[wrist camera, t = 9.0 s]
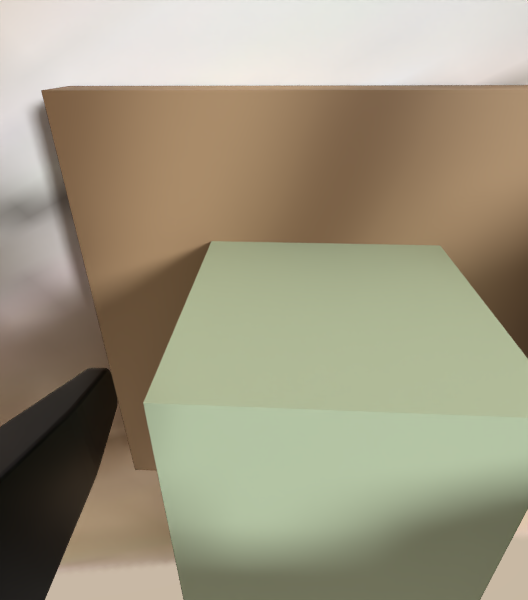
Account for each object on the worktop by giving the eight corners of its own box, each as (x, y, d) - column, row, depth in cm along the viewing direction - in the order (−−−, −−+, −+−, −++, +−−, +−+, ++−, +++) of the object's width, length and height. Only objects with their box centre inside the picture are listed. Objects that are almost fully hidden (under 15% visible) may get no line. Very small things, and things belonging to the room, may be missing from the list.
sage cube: (440, 245, 9) (574, 420, 5) (402, 412, 12) (467, 624, 7) (211, 241, 9) (143, 403, 5) (223, 405, 12) (185, 605, 8)
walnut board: (603, 85, 8) (647, 90, 7) (469, 453, 14) (483, 485, 13) (69, 86, 9) (41, 90, 8) (146, 439, 15) (135, 469, 14)
